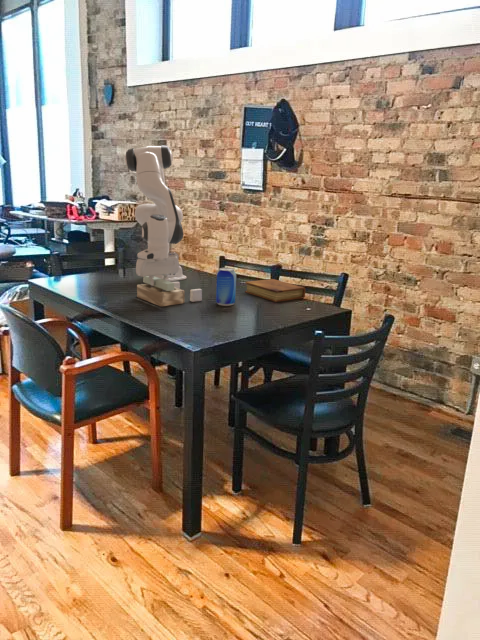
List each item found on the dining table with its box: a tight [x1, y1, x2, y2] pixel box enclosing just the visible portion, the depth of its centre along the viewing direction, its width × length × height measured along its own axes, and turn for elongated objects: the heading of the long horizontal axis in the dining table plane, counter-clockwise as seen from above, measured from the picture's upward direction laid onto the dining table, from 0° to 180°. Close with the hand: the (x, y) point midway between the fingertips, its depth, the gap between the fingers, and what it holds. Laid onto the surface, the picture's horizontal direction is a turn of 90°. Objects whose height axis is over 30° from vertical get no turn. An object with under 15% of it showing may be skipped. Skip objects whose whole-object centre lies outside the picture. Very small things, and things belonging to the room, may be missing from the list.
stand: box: [171, 281, 203, 303], centre depth 242 cm, size 5×20×6 cm, turn 40°
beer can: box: [215, 267, 237, 307], centre depth 231 cm, size 8×8×16 cm
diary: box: [244, 278, 306, 303], centre depth 256 cm, size 23×19×6 cm
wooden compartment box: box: [136, 283, 186, 307], centre depth 233 cm, size 12×20×6 cm, turn 40°
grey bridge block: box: [142, 276, 174, 292], centre depth 232 cm, size 4×20×8 cm, turn 40°
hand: (158, 284), depth 231 cm, fingers closed on grey bridge block, 3 cm apart
